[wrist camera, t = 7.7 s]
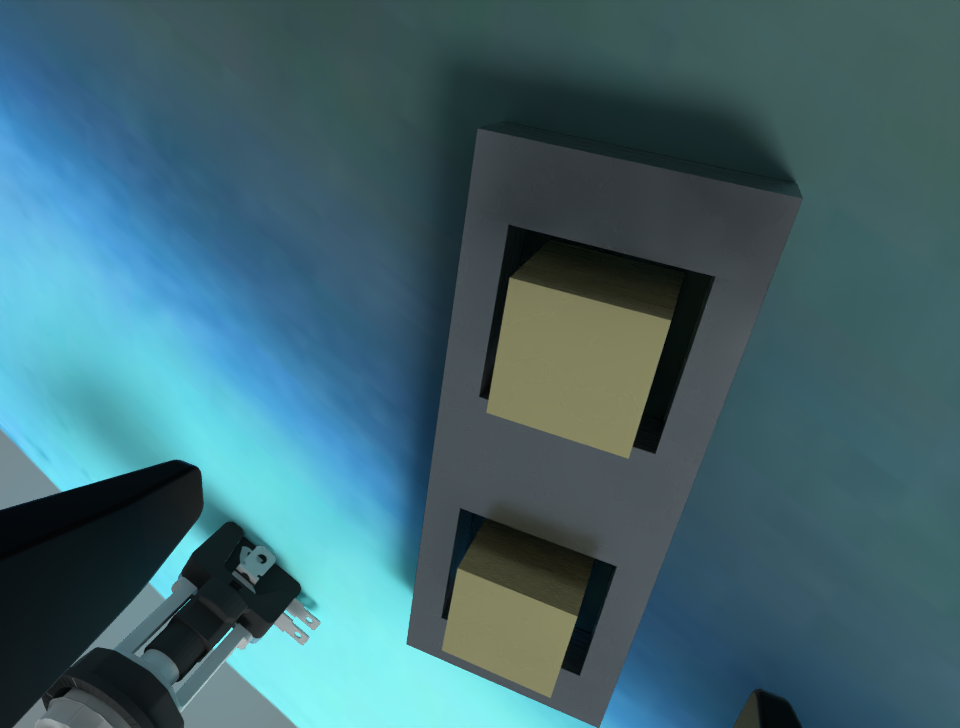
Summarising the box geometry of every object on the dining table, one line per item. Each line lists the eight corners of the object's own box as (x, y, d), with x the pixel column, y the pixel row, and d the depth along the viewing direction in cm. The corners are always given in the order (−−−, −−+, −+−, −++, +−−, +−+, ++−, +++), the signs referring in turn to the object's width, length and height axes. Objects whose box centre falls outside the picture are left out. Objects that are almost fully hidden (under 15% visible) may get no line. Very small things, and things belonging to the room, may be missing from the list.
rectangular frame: (608, 684, 26) (598, 728, 24) (427, 608, 28) (406, 643, 26) (797, 183, 17) (802, 198, 15) (502, 121, 18) (477, 128, 17)
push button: (347, 592, 29) (186, 809, 21) (301, 642, 32) (142, 851, 24) (235, 497, 29) (29, 675, 21) (198, 555, 32) (4, 733, 24)
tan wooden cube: (576, 611, 25) (550, 698, 22) (481, 573, 26) (441, 650, 23) (601, 534, 23) (577, 616, 20) (497, 496, 24) (457, 568, 21)
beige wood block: (648, 391, 20) (628, 458, 17) (527, 356, 21) (486, 412, 18) (684, 271, 19) (671, 320, 15) (550, 239, 20) (509, 277, 16)
